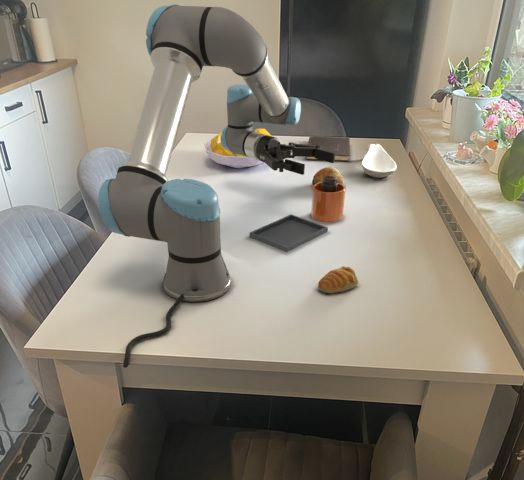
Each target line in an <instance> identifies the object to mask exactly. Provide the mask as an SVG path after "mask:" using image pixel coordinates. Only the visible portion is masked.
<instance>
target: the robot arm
mask: <svg viewBox="0 0 524 480" xmlns="http://www.w3.org/2000/svg"><path fill="white" fill-rule="evenodd" d="M145 35H146V39H145V44H146V45H145V46H146V50H147V54H148V55H149V57H150V62H151V64H152V66H153V68H154V69H153V71H152V75H151V79H150V82H149V86H148V88H147V93H146V97H145V100H144V104H143V107H142V111H141V114H140V117H139V120H138V124H137V127H136V132H135V134H134V138H133V143H132V146H131V149H130V153H129V156H128V160H127V162H126V163H123V164H121V165H119V166H118V168H117V172H116V174H115V178H108V179H106V180H105V181H103V182H102V184H101V185H100V188H99V190H98V196H97V197H98V198H97V207H98V212H99V213H98V214H99V216H100V219H101V222H102V223H103V225H104V227H105V228H106V229H107V230H109V232H112V233H113V234H117V235H122V236H124V237H128V238H129V237H131V238H132V237H133V238H138V239H144V240H145V239H146V240H151V241H157V242H164V243H166V244H167V253H168V259H167V265H166V269H165V273H164V276H163V289H164V292H165V294H167V295H168V296H169V297H170V298H172V299H175V302H174V303H173V304H172V305H171V307H170V308H169V310H168V311H167V312H166V314H165V315H166V316H165V321H166V325H165V327H163V328H162V329H159V330H157V331H152V332H147V333H143V334H140V335H137V336H135V337H134V338H133V339H131V340H130V341H129V342H128V343H127V345H126V346H125V350H124V351H125V352H124V358H123V364H122V367H123V368H128V367H129V363H130V357H131V351H132V347H133V346H134V345H135V344H137V343H138V342H140V341H143V340H145V339H150V338H157V337H159V336H162V335H165V334H166V333H168V331H169V330H170V329H171V327H172V320H171V317H172V314H173V312H174V311H175V310H176V308H177V307H178V306H179V305H180V303H181V302H187V303H202V302H209V301H212V300H216V299H218V298H220V297H221V296H223V295H225V294H226V293H228V291H229V290H230V288H231V275H230V272H229V270H228V267H227V265H226V262H225V260H224V257H223V254H222V240H221V208H220V203H219V196H218V193H217V191H216V190H215V189H214V187H212V186H211V185H209V184H208V183H205V182H203V181H200V180H197V179H193V178H182V179H181V178H173V179H170V180H168V178H167V172H168V169H169V165H170V161H171V157H172V154H173V150H174V147H175V143H176V139H177V136H178V133H179V129H180V125H181V122H182V118H183V115H184V111H185V107H186V104H187V100H188V96H189V93H190V89H191V85H192V83H194V82H196V81H198V80H199V79H200V77H201V74H202V71H203V69H204V68H203V67H218V68H219V67H220V68H225V69H230V70H231V71H232V72H233V73H234V74H235V75H237V76H238V77H241V78H242V79H243V81H244V82H245V84H233V85H230V86H228V88H227V89H226V109H227V110H226V112H227V113H226V114H227V115H226V116H227V117H226V118H227V126H225V127H224V128H223V129H222V131H221V132H222V135H221V138H220V140H221V144H222V146H223V148H224V149H226V150H228V151H230V152H232V153H235V154H239V155H243V156H247V157H250V158H253V159H255V161H257V160H260V161H262V162H264V163H263V164H265V165H267V166H268V167H269V168H270V169H271V170H272V171H279V173H284V170H285V171H288V172H290V173H295V174H299V175H301V176H303V175H305V167H306V165H305V163H302V162H299V161H295V160H291V159H294V158H296V157H297V158H298V157H299V158H306V157H315V158H316V159H319V160H323V161H322V162H327V163H331V164H335V162H336V161H335V153H333V152H329V151H325V150H322V149H320V147H321V146H319V145H308V144H305V143H304V144H303V143H295V142H288V144H286V143H281V142H280V140H279V139H278V137H277V136H276V137H275V136H272V135H271V136H269V135H265V134H262V133H258V132H254V131H255V130H253V125H254V124H253V123H261V124H270V125H280V126H296V125H297V124H298V123H299V122H300V118H301V114H302V113H301V112H302V104H301V100H300V99H299V98H298V97H293V96H288V94H287V93H286V91H285V88H284V87H283V85H282V82H281V81H280V79H279V77H278V76H277V73H276V72H275V70H274V68H273V66H272V64H271V62H270V59H268V56H269V54H268V48H267V45H266V42H265V41H264V39H263V37H262V36H261V34H260V32H259V31H258V30H257V29H256V28H255V27H254V26H253V25H252V24H251V23H250V22H249V21H248V20H247V19H246V18H244V17H243V16H241V15H240V14H238V13H237V12H235V11H233V10H231V9H228V8H225V7H223V6H198V5H196V6H195V5H180V4H170V5H161V6H158V7H157V8H155V10H153V11H152V13H151V15H150V17H149V18H148V21H147V25H146V30H145Z"/></svg>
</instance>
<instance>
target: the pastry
mask: <svg viewBox="0 0 524 480" xmlns="http://www.w3.org/2000/svg"><path fill="white" fill-rule="evenodd" d="M358 284H359V280H358V276H357V274H356V272H355V270H354V269H353V268H352V267H350V266H344V265H342V266H341V267H339V268H335V269H331V270H329V271H328V272H327V273H325V274H324V275H323V277H321V279H320V280H319V281H318V283H317V286H318V287H317V289H318V291H321V292H324V293H327V294H335V293H336V294H337V293H343V292H346V291H348V290H352V289H354V288H355V287H356V286H357V285H358Z"/></svg>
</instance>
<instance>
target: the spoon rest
mask: <svg viewBox="0 0 524 480" xmlns="http://www.w3.org/2000/svg"><path fill="white" fill-rule="evenodd" d="M397 167H398V166H397V163H396V161H395V160H394V159H393V158H392V157H391V156H390V155H389V153H387V151H386V150H385V148H383V147H382V145H381V144H380V143H375V144H374V143H369V144H368V145H367V147H366V150H365V152H364V155H363V159H362V160H361V168H362V170H363V172H365V174H366V175H368V176H369V177H372V178H375V179H382V178H387V177H389V176H391V175H392V174H393V173H394V172H395V171H396V170H397Z"/></svg>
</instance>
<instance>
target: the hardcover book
mask: <svg viewBox="0 0 524 480" xmlns="http://www.w3.org/2000/svg"><path fill="white" fill-rule="evenodd" d="M307 145H319V146H321V147H320V149H322V150H325V151H329V152H333V153H335V161H334V162H343V163H344V162H345V163H349V162H350V157H351V139H350V137H340V136H315V135H310V136H309V139H308V142H307ZM305 160H306V161H321V162H324V161H323V160H319V159H316V158H315V157H305Z"/></svg>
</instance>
